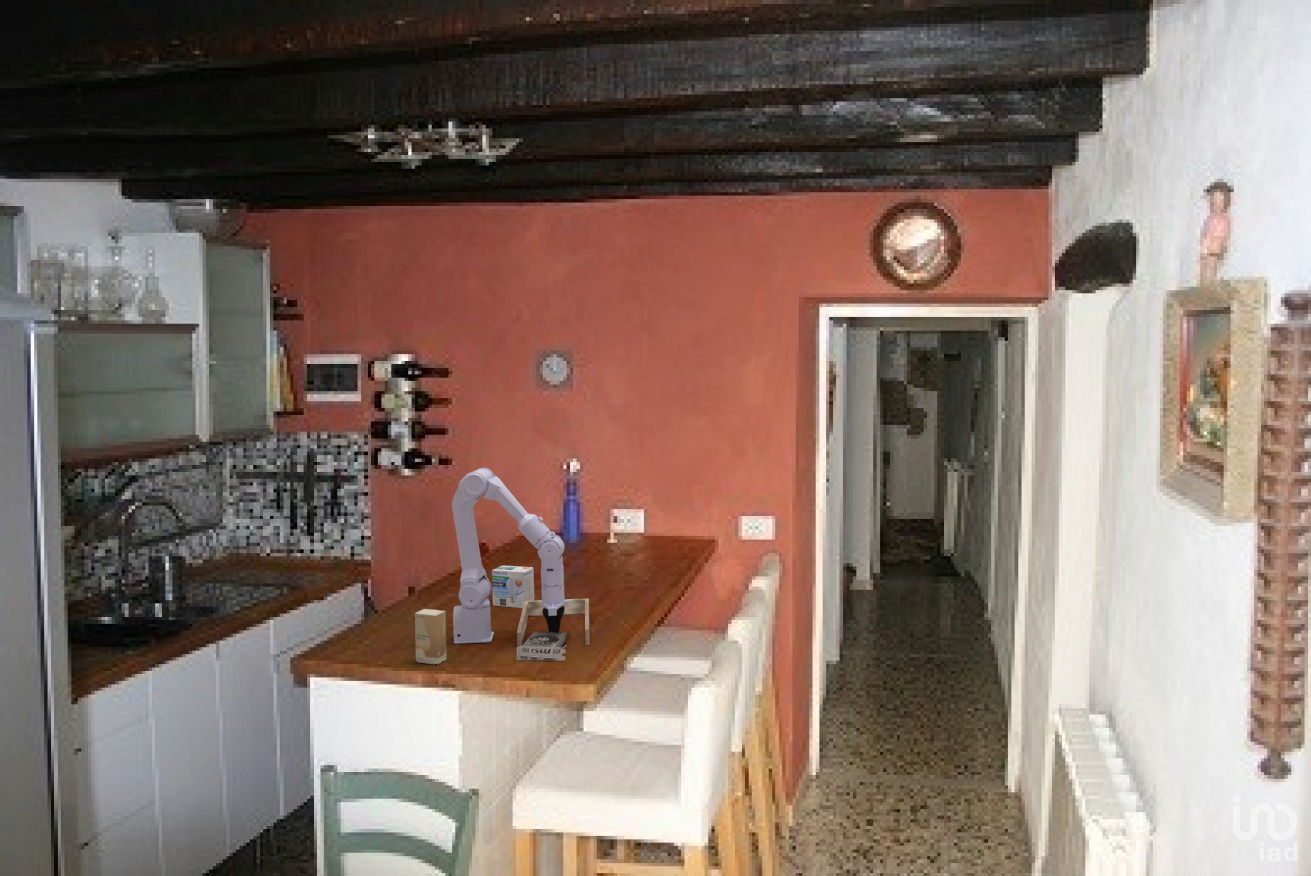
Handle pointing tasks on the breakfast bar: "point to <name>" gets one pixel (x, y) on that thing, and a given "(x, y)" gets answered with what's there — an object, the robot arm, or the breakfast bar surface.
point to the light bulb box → (512, 586)
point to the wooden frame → (536, 609)
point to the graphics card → (543, 647)
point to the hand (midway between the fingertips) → (554, 635)
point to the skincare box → (430, 636)
